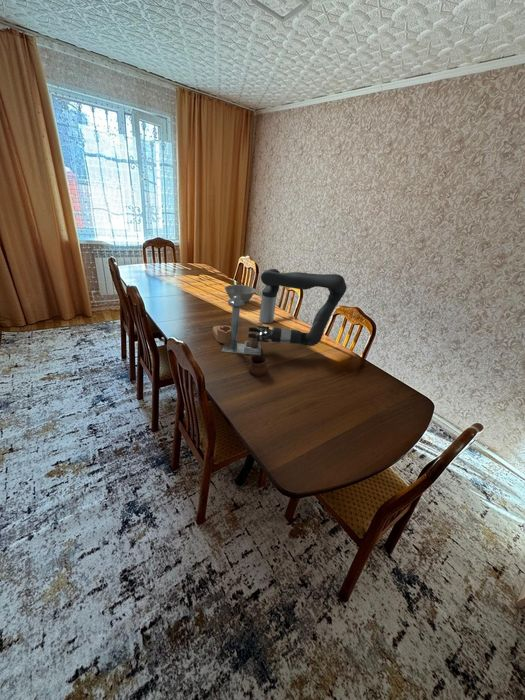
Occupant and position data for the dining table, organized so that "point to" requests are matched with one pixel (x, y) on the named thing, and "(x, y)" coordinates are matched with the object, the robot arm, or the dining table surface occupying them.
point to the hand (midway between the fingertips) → (248, 332)
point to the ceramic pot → (257, 365)
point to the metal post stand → (233, 345)
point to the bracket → (222, 333)
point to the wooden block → (253, 342)
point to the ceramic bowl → (240, 292)
